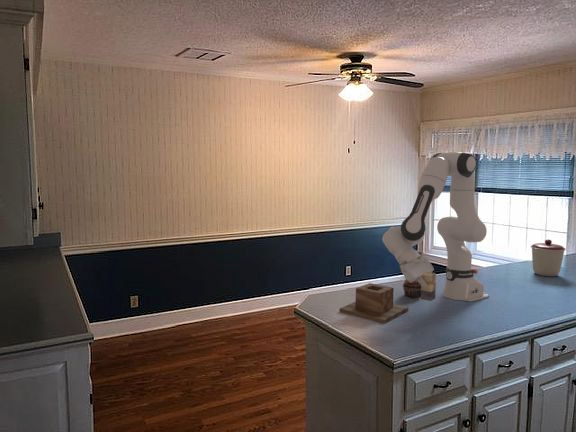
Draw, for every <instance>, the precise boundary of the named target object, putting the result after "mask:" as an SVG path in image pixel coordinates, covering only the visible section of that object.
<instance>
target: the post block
mask: <svg viewBox="0 0 576 432" xmlns="http://www.w3.org/2000/svg"><path fill="white" fill-rule="evenodd" d="M394 289H395V288H394V287H393V286H392V287H391V286H386V285H383V284H377V283H372V282H369V283H366V284H363V285H361V286H359V287H357V288H355V301H354V302H351V303H349V304H347V305H344V306H343V307H340V308H339V313H343V314H346V315H350V316H353V317H354V316H355V317H358V318H361V319H365V320H370V321H373V322H377V323H382V324H386V323H388V322H390V321H391V320H393V319H395V318H397V317H400V316H401V315H403V314H404V313H406V312H409V306H405V305H400V304H396V303H394Z"/></svg>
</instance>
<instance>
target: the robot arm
mask: <svg viewBox="0 0 576 432" xmlns="http://www.w3.org/2000/svg"><path fill="white" fill-rule="evenodd" d="M476 167H477V159H476V157H475V155H474V154H473V153H470V152H466V151H463V152H461V151H450V152H449V151H448V152H438V153H435V154H433V155H432V156H431V158H429V160H428V162H427V163H426V165H425V167H424V169H423V171H422V173H421V176H420V179H419V182H418V185H417V186H418V188H417V196H416V199H415V202H414V204H413V207H412V210H411V212H410V213H409V215H408V216H407V217H406V218H405V219H404V220H403V221H402V223H401V225H399V226H390V227H388V228H387V229H386V230H385V231H384V232H383V234H382V238H381V239H382V243H383V244H384V246H385V247H386V248H387V250H388V251H389V253H391V254H392V256H394V257H395V260H396V261H397V263H398V264H399V268H400V271H401V273H402V274H403V276H404V278H405V280H406V279H407V280H408V281H409V282H410V283H411V282H414V281H416V280H417V281H418V282H419V283H420V284H422V285H423V286H424V287H427V286H428V285H429V284H428V283H427V282H425V281H424V280H423V278H422V277H421V276H423V274H425V273H427V272H429V273H433V271H435V269H434V266H433V265H432V263H431V262H430V261H429V260H428V258H427V257H425V253H424V252H423V251H420V250H416V249H414V248H413V247H414V246H416V245H419V244H421V242H422V241H423V240H424V238H425V235H426V234H425V233H426V217H427V214H428V211H429V209H430V206H431V205H432V202H433V201H434V200H436V199H438V198H439V197H440V196H441V194H442V192H443V190H444V188H445V186H446V183H447V180H448V177H451V178H450V179H451V180H450V184H449V185H450V186H449V188H450V189H449V206H450V207H451V208H452V209H453V211H454V212H455V213H456V216H457V217H456V216H444V217H441V218H440V219H439V221H438V222H437V225H436V228H437V229H436V230H437V232H438V235H440V236H441V238H442V239H443V241H444V245H445V247H446V252H447V253H446V254H447V256H446V257H447V263H446V265H447V266H446V267H445V281H444V287H443V289H442V290H443V291H442V294H441V295H442V297H444V298H446V299H450V300H454V301H455V300H456V301H465V302H470V303H471V302H475V301H478V300H483V299H486V298H489V297H490V296H489V294H488V293H486V292H485V290H484V289H485V288H484V284H483V283H482V282H481V281H480V280H478V278H476V277H475V275H478V272H479V271H478V270H477V269H472V260H473V259H472V258H473V257H472V256H473V254H472V251H471V250H469V248H468V247H467V245H466V244H465V243H481V242H483V241H484V239H486V236H487V232H488V230H487V226H486V225H485V223H484V222H483V221H482V220H481V218H480V217H479V215H478V212H477V209H476V204H475V203H476V201H475V197H476V196H475V195H476V194H475V189H476V185H475V183H476V181H475V176H474V172H475V171H476ZM474 274H475V275H474Z"/></svg>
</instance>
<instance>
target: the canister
mask: <svg viewBox="0 0 576 432" xmlns="http://www.w3.org/2000/svg"><path fill="white" fill-rule="evenodd" d="M530 248H531V258H532V270H533V272H534V274H536V275H538V276H542V277H556V276H558V275H559V274H560V273H561V269H562V264H563V259H564V255H565V251H566V247H564V246H562V245H560V244H557V243H553V241H552V240H551V239H545V240H544V242H539V243H534V244H533V243H532V244H531V245H530Z"/></svg>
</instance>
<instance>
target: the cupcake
mask: <svg viewBox="0 0 576 432" xmlns="http://www.w3.org/2000/svg"><path fill="white" fill-rule="evenodd" d="M403 282H404V283H403V284H402V287H403V293H404V297H405V298H409V299H419V298H420V299H421V284H420V283H419V282H418V281H417V280H416V281H414V282H411V283H410V282H409V281H408V280H407V279H406V278H405V280H404V281H403Z"/></svg>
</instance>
